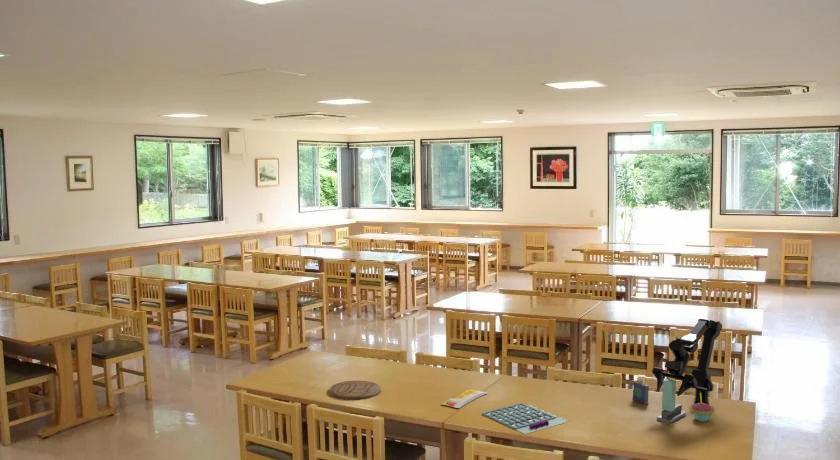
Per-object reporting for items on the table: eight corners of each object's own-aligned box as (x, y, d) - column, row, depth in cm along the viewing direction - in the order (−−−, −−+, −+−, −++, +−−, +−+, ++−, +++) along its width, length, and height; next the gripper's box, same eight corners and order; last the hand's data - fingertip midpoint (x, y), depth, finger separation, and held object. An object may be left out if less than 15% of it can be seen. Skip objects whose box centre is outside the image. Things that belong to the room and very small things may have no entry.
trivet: (384, 384, 358) (384, 381, 358) (376, 401, 333) (376, 397, 333) (335, 383, 360) (335, 379, 360) (324, 399, 335) (324, 395, 335)
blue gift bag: (649, 404, 328) (650, 381, 327) (644, 405, 327) (645, 382, 326) (635, 398, 336) (636, 376, 335) (630, 399, 335) (631, 377, 334)
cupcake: (687, 417, 311) (688, 390, 310) (703, 414, 314) (704, 388, 313) (701, 423, 303) (702, 396, 302) (717, 421, 306) (718, 394, 305)
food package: (470, 386, 349) (488, 390, 343) (470, 391, 349) (488, 394, 343) (440, 401, 326) (458, 405, 321) (440, 406, 327) (458, 410, 321)
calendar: (526, 404, 330) (526, 399, 329) (571, 422, 306) (571, 417, 306) (481, 416, 314) (481, 411, 314) (525, 435, 291) (525, 430, 291)
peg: (666, 407, 311) (667, 378, 310) (675, 409, 308) (676, 380, 307) (662, 409, 308) (662, 380, 307) (670, 411, 305) (671, 382, 304)
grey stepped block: (673, 411, 318) (673, 402, 317) (685, 415, 313) (686, 405, 313) (656, 420, 307) (657, 410, 307) (669, 423, 303) (670, 413, 303)
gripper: (654, 349, 315) (641, 378, 308) (695, 357, 302) (682, 388, 295) (662, 363, 321) (649, 392, 315) (702, 371, 308) (690, 402, 301)
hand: (667, 393), depth 306 cm, fingers open, 9 cm apart
